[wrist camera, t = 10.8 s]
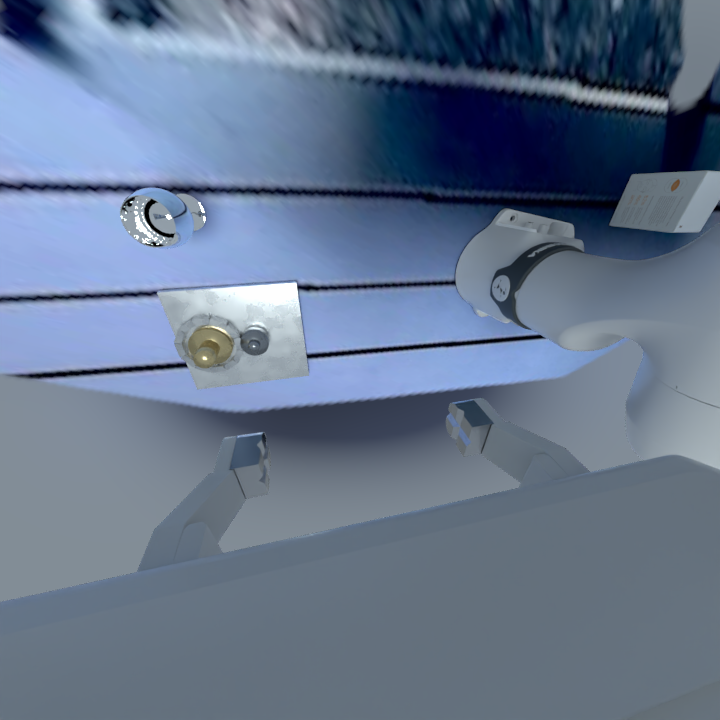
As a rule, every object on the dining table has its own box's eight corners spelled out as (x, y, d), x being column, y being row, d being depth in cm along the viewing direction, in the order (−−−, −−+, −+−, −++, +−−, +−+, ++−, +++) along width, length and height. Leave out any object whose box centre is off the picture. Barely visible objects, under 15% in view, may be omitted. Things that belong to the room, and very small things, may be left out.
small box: (631, 226, 52) (699, 234, 43) (606, 225, 50) (672, 233, 42) (656, 174, 47) (738, 172, 39) (631, 173, 46) (709, 170, 38)
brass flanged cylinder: (226, 322, 44) (218, 338, 40) (238, 356, 48) (232, 374, 43) (184, 328, 44) (171, 345, 39) (199, 362, 47) (189, 381, 42)
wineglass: (220, 227, 38) (195, 241, 28) (182, 242, 38) (143, 262, 28) (193, 180, 35) (154, 177, 25) (152, 197, 35) (96, 201, 25)
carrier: (296, 280, 44) (296, 289, 41) (308, 371, 54) (309, 385, 50) (160, 289, 41) (147, 300, 37) (199, 385, 51) (192, 400, 47)
